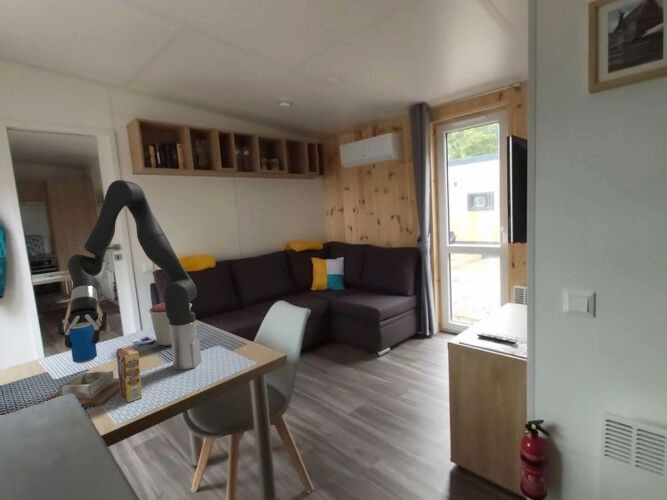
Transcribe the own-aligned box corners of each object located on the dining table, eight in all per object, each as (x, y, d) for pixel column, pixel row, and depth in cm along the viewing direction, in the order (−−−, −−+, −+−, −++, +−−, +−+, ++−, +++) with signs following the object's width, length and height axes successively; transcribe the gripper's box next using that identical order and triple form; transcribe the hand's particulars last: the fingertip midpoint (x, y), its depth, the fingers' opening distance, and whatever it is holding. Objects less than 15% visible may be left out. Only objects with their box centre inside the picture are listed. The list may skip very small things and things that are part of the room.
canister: (156, 338, 164) (152, 295, 162) (196, 332, 169) (192, 291, 167) (147, 351, 147) (143, 304, 144) (192, 345, 152) (188, 299, 150)
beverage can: (93, 354, 116) (89, 320, 115) (100, 359, 112) (95, 324, 111) (70, 361, 111) (66, 326, 110) (76, 366, 107) (71, 329, 106)
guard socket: (133, 380, 120) (131, 366, 120) (101, 405, 104) (99, 390, 104) (78, 381, 121) (76, 368, 120) (38, 407, 105) (36, 391, 104)
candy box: (143, 397, 108) (138, 351, 107) (128, 403, 105) (123, 356, 104) (134, 388, 114) (129, 345, 113) (119, 393, 111) (115, 349, 110)
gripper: (55, 299, 113) (51, 344, 104) (107, 292, 120) (107, 334, 110) (61, 310, 118) (57, 355, 109) (110, 304, 125) (110, 345, 116)
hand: (82, 344), depth 110 cm, fingers closed on beverage can, 6 cm apart
